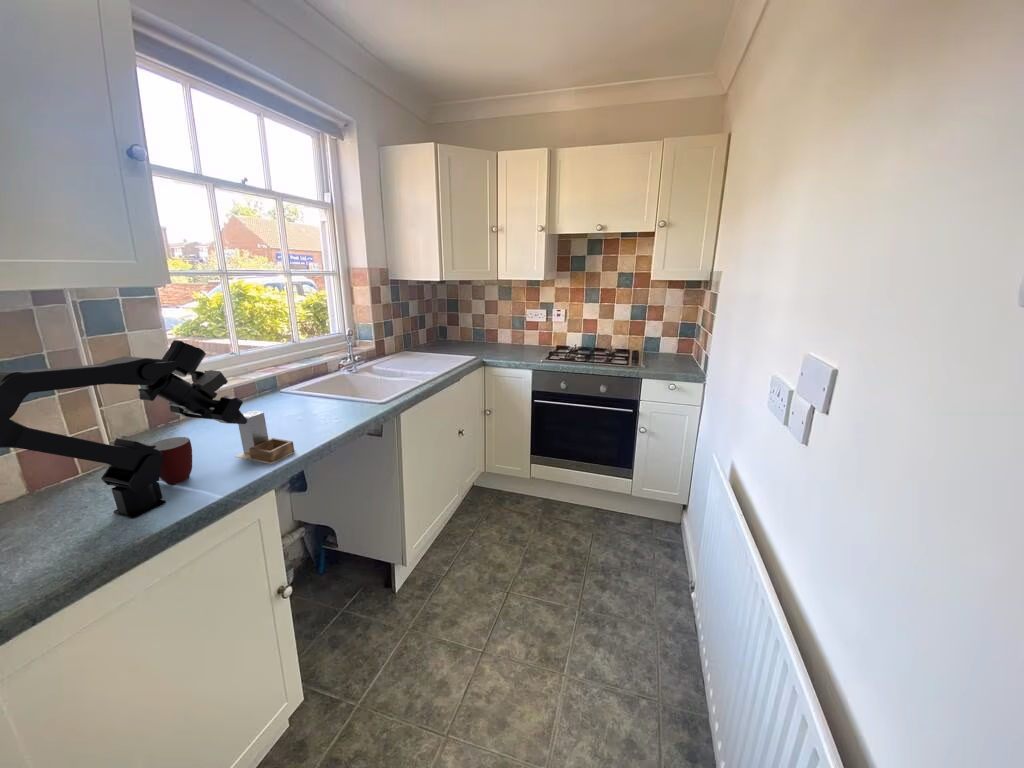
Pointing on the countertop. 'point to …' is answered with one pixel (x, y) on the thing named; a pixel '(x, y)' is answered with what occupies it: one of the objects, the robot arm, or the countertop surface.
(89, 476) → the countertop surface
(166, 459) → the mug
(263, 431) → the post
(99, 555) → the countertop surface
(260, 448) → the stand
